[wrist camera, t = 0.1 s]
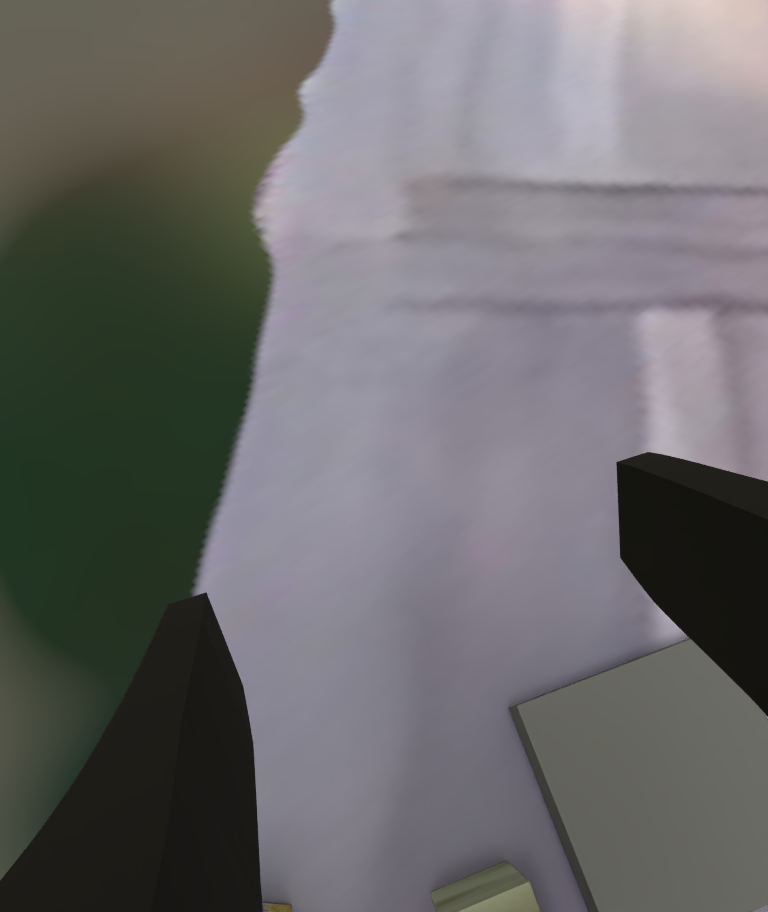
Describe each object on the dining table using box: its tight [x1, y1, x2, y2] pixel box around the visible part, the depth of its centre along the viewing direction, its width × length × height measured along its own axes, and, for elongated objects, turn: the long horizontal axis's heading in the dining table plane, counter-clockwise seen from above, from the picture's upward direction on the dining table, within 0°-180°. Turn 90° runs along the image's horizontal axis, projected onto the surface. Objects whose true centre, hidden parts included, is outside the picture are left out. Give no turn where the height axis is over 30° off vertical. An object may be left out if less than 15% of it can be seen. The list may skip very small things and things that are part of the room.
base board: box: [509, 639, 768, 912], centre depth 38 cm, size 13×13×2 cm
